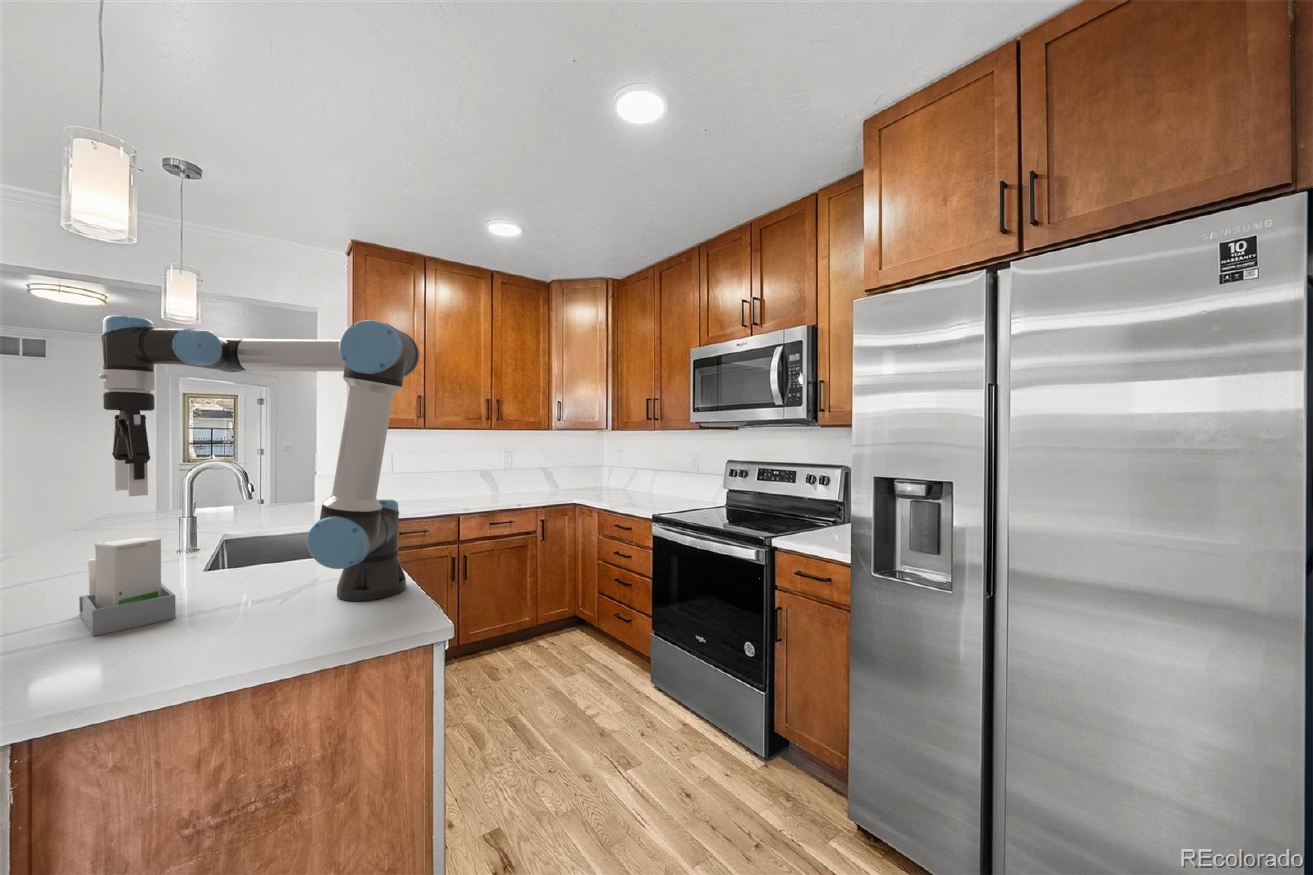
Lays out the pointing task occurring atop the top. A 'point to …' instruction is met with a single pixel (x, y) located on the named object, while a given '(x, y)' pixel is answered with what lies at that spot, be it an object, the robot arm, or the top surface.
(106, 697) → the top surface
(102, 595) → the skincare box
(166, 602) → the grey open box
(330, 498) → the robot arm
